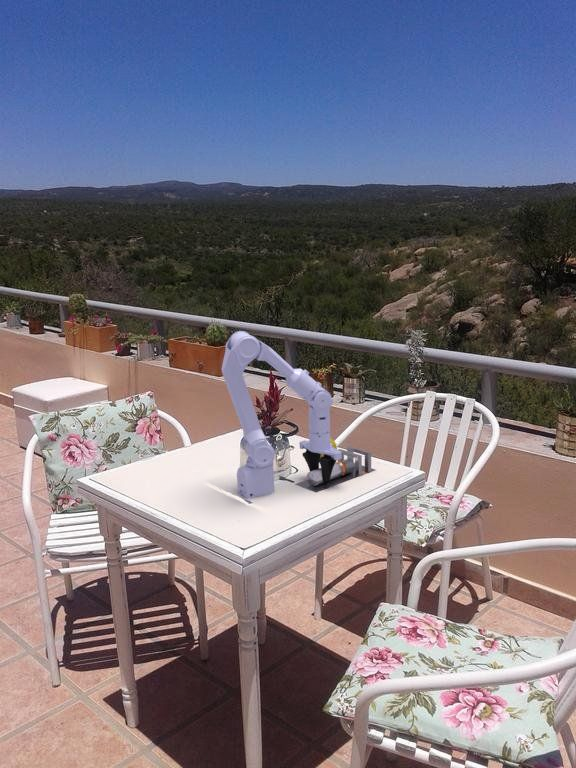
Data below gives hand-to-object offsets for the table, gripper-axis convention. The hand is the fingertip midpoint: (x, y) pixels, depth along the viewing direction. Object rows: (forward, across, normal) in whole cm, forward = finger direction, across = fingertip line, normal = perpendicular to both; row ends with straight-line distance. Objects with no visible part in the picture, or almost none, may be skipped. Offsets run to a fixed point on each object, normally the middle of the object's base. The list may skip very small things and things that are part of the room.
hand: (320, 478), depth 180 cm
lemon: (+3, +13, -16) cm, 20 cm away
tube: (+1, 0, -4) cm, 4 cm away
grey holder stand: (+2, 0, -7) cm, 7 cm away
